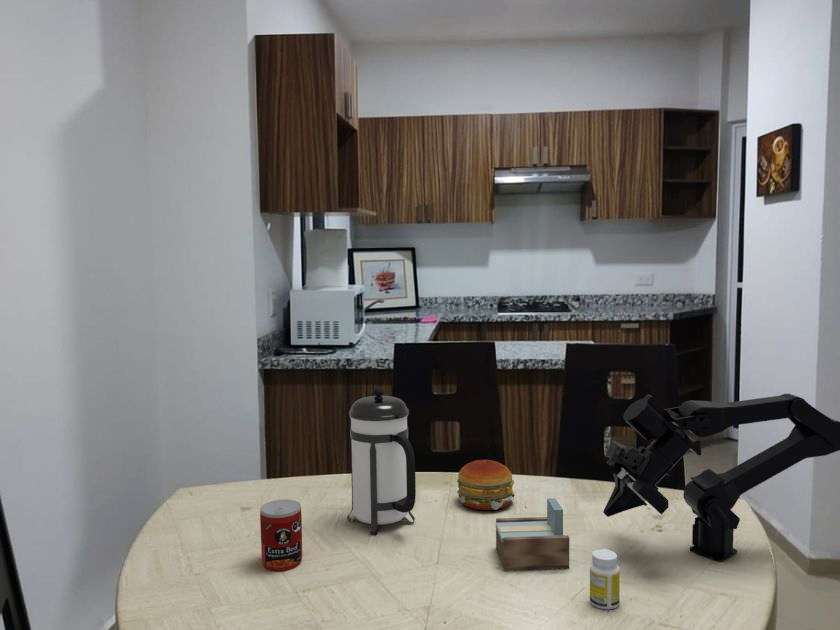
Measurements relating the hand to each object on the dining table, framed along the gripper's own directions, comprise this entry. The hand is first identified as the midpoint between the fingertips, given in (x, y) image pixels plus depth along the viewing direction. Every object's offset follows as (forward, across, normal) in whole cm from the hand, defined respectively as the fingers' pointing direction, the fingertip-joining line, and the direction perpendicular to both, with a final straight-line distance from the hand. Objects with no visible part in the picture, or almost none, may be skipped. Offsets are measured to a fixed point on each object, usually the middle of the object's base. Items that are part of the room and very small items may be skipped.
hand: (605, 514), depth 131 cm
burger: (+19, -29, -8) cm, 36 cm away
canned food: (+49, -2, -39) cm, 62 cm away
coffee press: (+35, -19, -25) cm, 47 cm away
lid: (+12, 0, -8) cm, 15 cm away
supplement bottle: (+10, +17, +2) cm, 20 cm away
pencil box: (+16, 0, -5) cm, 16 cm away
